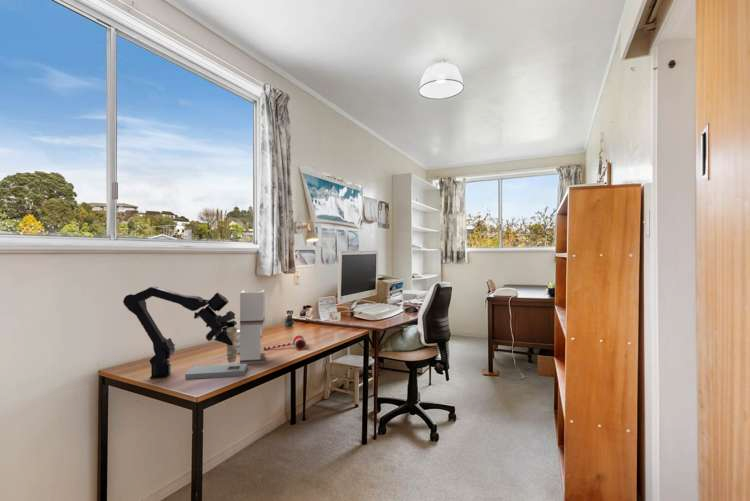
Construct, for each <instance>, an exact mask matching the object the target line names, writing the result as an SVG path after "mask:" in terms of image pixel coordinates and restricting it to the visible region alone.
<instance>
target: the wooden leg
mask: <svg viewBox="0 0 750 501" xmlns="http://www.w3.org/2000/svg"><path fill="white" fill-rule="evenodd" d="M237 330H238V327H237V326H234V327H230V328H227V336H228V337H229V338H230V340H231V341H232V343H233V345H232V346H231V345H228V344H226V356H227V358H226V359H227V363H229V364H230V363H231V364H234V363H235V362H236V360H237V355H238V354H237Z"/></svg>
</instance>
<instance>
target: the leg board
mask: <svg viewBox="0 0 750 501" xmlns="http://www.w3.org/2000/svg"><path fill="white" fill-rule="evenodd" d="M247 369H248V364H240V363H236V364H235V363H231V364H230V363H229V364H217V365H216V364H214V365H213V364H211V365H197V366H196V365H195V366H192V367H191V368H190V369H189V370H188V371H187V372H186V373H185V375H184V379H185V380H191V379H194V380H195V379H208V378H224V377H238V376H239V377H240V376H241V377H243V376H244V375H245V374H246V372H247Z"/></svg>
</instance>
